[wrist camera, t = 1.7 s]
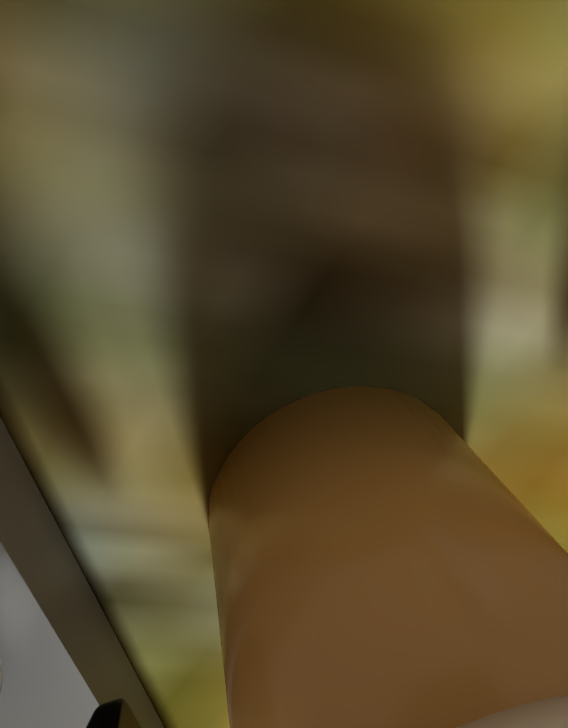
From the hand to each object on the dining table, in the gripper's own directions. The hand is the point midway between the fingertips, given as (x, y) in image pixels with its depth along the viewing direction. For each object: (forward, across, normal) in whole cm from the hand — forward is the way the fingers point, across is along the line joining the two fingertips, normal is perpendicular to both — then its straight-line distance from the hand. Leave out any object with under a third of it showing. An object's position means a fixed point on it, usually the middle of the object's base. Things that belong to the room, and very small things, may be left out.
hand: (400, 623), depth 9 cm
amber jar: (+3, 0, 0) cm, 3 cm away
